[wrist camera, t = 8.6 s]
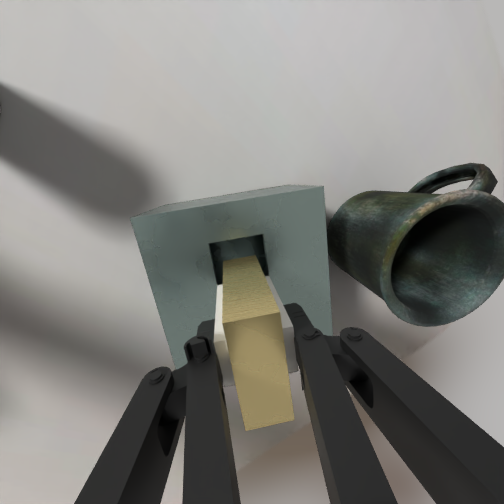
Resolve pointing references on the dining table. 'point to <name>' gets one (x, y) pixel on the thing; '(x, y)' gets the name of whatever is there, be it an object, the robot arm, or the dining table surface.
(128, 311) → the dining table surface
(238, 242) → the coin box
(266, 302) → the tan rectangular block
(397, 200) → the mug
